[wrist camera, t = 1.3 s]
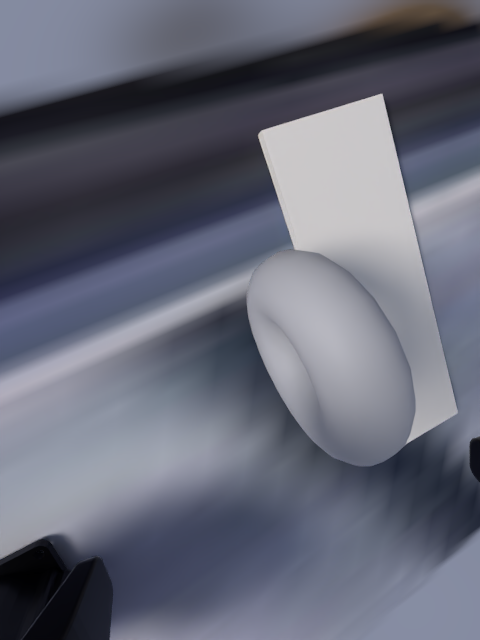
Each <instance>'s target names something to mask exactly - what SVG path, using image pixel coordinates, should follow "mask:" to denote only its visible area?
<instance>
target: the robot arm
mask: <svg viewBox="0 0 480 640" xmlns="http://www.w3.org/2000/svg"><path fill="white" fill-rule="evenodd" d="M470 469H471V471H472V473H473V475H474V476H475V478H476V479H477V480H478V481H479V482H480V437H477V438H473V439H472V440H471V441H470ZM38 550H42V551H44V552H43V553H38V552H37V551H38ZM112 599H113V587H112V582H111V579H110V577H109V575H108V572H107V570H106V568H105V565H104V563H103V561H102V559H101V558H100V557H99V556H95V557H91V558H88V559H85V560H82V561H80V562H79V563H78V564H77V565H76V566H75V567H74V569H73V570H72V571H70V570H69V569H67V568H66V567H65V565H64V563H63V562H62V560H61V559H60V557H59V555H58V554H57V552H56V551H55V549H54V547H53V546H52V544H51V543H50V542H49V541H47V540H40V541H37V542H35V543H33V544H31V545H29V546H27V547H25V548H23V549H21V550H19V551H17V552H16V553H14V554H12V555H10V556H8V557H6V558H4V559H2V560H0V640H109V639H110V626H111V613H112Z"/></svg>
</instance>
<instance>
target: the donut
mask: <svg viewBox="0 0 480 640" xmlns="http://www.w3.org/2000/svg"><path fill="white" fill-rule="evenodd" d="M247 309H248V317H249V321H250V325H251V329H252V333H253V336H254V339H255V341H256V344H257V347H258V350H259V352H260V355H261V357H262V359H263V362H264V364H265V366H266V368H267V371H268V373H269V375H270V377H271V379H272V381H273V382H274V384H275V386H276V388H277V390H278V392H279V394H280V395H281V397H282V399H283V400H284V402H285V404H286V406H287V407H288V409H289V410H290V412H291V413H292V415H293V416H294V418H295V419H296V421H297V422H298V423H299V425H300V426H301V428H302V429H303V430H304V431H305V432H306V434H307V435H308V436H309V437H310V438H311V439H312V441H313V442H315V443H316V444H317V445H318V446H319V447H320V448H322V449H323V450H324V451H325V452H327V453H328V454H329V455H330V456H332V457H333V458H335V459H338V460H341V461H344V462H347V463H350V464H353V465H356V466H373V465H376V464H378V463H381V462H383V461H385V460H387V459H388V458H390V457H391V456H393V455H395V454H396V453H397V452H398V451H399V450H400V449H402V448H403V447H404V446H405V444H406V442H407V440H408V438H409V436H410V433H411V429H412V425H413V421H414V416H415V412H416V400H415V393H414V386H413V380H412V373H411V368H410V365H409V363H408V360H407V358H406V355H405V353H404V350H403V348H402V346H401V343H400V341H399V338H398V336H397V333H396V331H395V330H394V328H393V326H392V325H391V323H390V322H389V320H388V319H387V317H386V315H385V314H384V312H383V311H382V309H381V308H380V306H379V304H378V303H377V301H376V300H375V298H374V297H373V296H372V295H371V294H370V293H369V292H368V291H367V290H366V289H365V287H364V286H363V285H362V284H361V283H360V282H359V281H358V280H357V279H356V278H355V277H354V276H353V275H352V274H351V273H350V272H349V271H347V270H346V269H344V268H343V267H341V266H339V265H338V264H336V263H335V262H333V261H332V260H330V259H329V258H327V257H325V256H323V255H321V254H320V253H314V252H308V251H301V250H293V249H289V250H284V251H280V252H278V253H276V254H274V255H273V256H271V257H270V258H268V259H267V260H265V261H264V262H263V263H261V264H260V265H259V266H258V267H257V268H256V270H255V271H254V272H253V274H252V277H251V280H250V282H249V286H248V291H247Z"/></svg>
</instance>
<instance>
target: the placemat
mask: <svg viewBox="0 0 480 640" xmlns="http://www.w3.org/2000/svg"><path fill="white" fill-rule="evenodd" d="M258 137H259V140H260V144H261V147H262V150H263V153H264V156H265V159H266V162H267V165H268V168H269V171H270V174H271V177H272V181H273V184H274V187H275V190H276V193H277V196H278V199H279V202H280V205H281V208H282V211H283V214H284V218H285V221H286V224H287V227H288V230H289V233H290V236H291V239H292V242H293V245H294V248H295V250H301V251H308V252H314V253H320V254H321V255H323V256H325V257H327V258H329V259H330V260H332V261H333V262H335V263H336V264H338V265H339V266H341V267H343V268H344V269H346V270H347V271H349V272H350V273H351V274H352V275H353V276H354V277H355V278H356V279H357V280H358V281H359V282H360V283H361V284H362V285H363V286H364V287H365V289H366V290H367V291H368V292H369V293H370V294H371V295H372V296H373V297H374V298H375V300H376V301H377V303H378V304H379V306H380V308H381V309H382V311H383V312H384V314H385V315H386V317H387V319H388V320H389V322H390V323H391V325H392V326H393V328H394V330H395V331H396V333H397V336H398V338H399V341H400V343H401V346H402V348H403V350H404V353H405V355H406V358H407V360H408V363H409V365H410V368H411V373H412V380H413V386H414V393H415V400H416V412H415V416H414V421H413V425H412V429H411V433H410V436H409V438H408V440H407V442H406V444H407V443H408V442H410V441H412V440H414V439H415V438H417V437H419V436H420V435H422V434H424V433H425V432H427V431H429V430H430V429H432V428H434V427H435V426H437V425H439V424H440V423H442V422H444V421H446V420H447V419H449V418H451V417H452V416H454V415H456V414H457V413H458V411H457V406H456V402H455V398H454V394H453V389H452V385H451V381H450V377H449V373H448V368H447V364H446V360H445V356H444V352H443V347H442V343H441V339H440V335H439V331H438V326H437V322H436V318H435V314H434V309H433V305H432V301H431V297H430V293H429V288H428V284H427V280H426V276H425V272H424V267H423V263H422V259H421V255H420V250H419V246H418V242H417V238H416V234H415V229H414V225H413V221H412V217H411V213H410V208H409V204H408V200H407V196H406V191H405V187H404V183H403V179H402V175H401V170H400V166H399V162H398V158H397V154H396V149H395V145H394V141H393V137H392V132H391V128H390V124H389V120H388V116H387V111H386V107H385V103H384V99H383V95H382V94H379V95H376V96H373V97H370V98H366V99H363V100H360V101H357V102H353V103H350V104H347V105H344V106H340V107H337V108H334V109H330V110H327V111H324V112H321V113H317V114H314V115H311V116H308V117H304V118H301V119H298V120H295V121H291V122H288V123H285V124H281V125H278V126H275V127H272V128H268V129H265V130H262V131H261V132H260V133H259V135H258Z"/></svg>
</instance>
